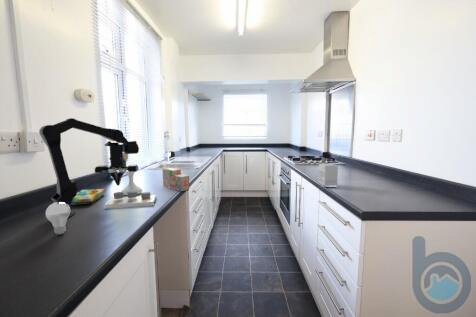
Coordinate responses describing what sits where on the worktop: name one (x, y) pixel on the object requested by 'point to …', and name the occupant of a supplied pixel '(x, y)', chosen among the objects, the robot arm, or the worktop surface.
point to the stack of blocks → (175, 179)
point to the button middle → (132, 194)
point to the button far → (145, 195)
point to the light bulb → (58, 216)
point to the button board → (130, 202)
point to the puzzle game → (87, 196)
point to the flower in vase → (130, 181)
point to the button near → (118, 195)
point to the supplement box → (328, 174)
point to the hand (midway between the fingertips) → (118, 185)
